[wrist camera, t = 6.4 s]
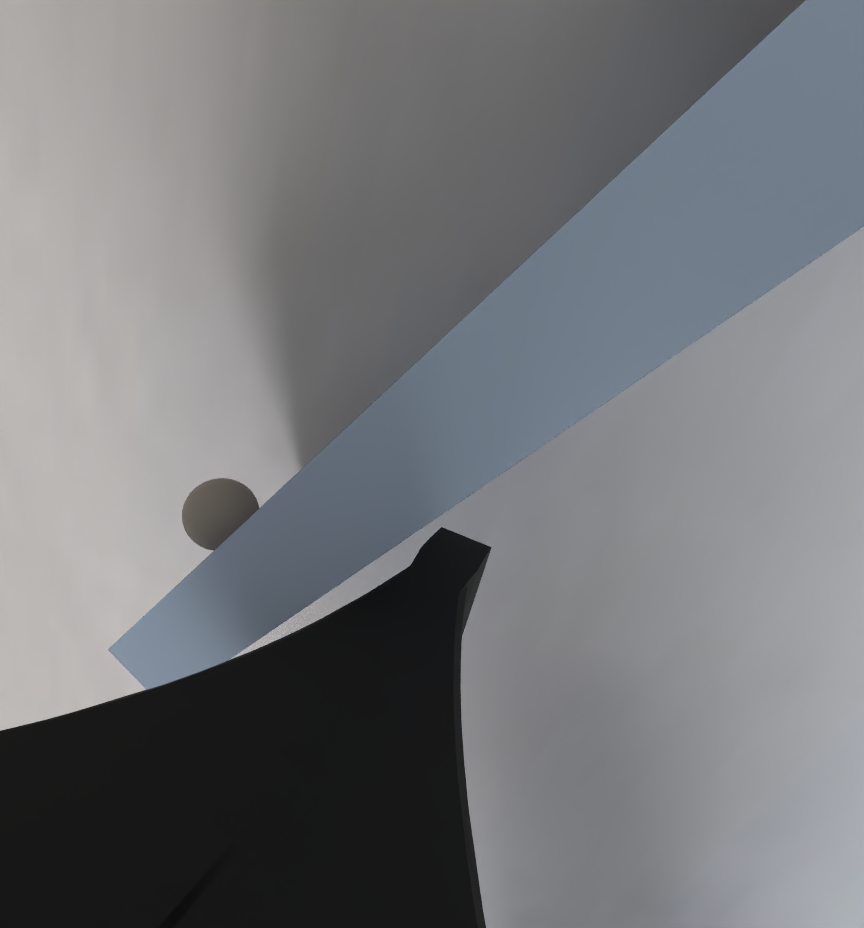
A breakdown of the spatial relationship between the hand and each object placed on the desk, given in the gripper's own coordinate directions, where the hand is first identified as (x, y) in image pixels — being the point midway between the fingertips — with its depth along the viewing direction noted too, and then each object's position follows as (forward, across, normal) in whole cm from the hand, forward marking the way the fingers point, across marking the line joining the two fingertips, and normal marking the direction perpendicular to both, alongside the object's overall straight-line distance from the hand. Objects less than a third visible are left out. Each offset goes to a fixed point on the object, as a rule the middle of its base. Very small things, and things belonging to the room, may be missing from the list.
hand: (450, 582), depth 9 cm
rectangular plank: (+2, +1, -3) cm, 4 cm away
